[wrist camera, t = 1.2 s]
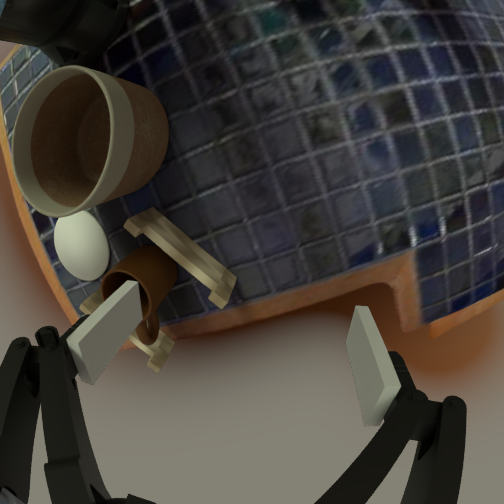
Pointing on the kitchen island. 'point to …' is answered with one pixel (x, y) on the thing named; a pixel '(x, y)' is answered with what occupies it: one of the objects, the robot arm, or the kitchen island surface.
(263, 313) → the kitchen island surface
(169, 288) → the mug
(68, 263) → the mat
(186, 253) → the rack
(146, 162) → the planter
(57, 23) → the robot arm
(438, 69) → the kitchen island surface
